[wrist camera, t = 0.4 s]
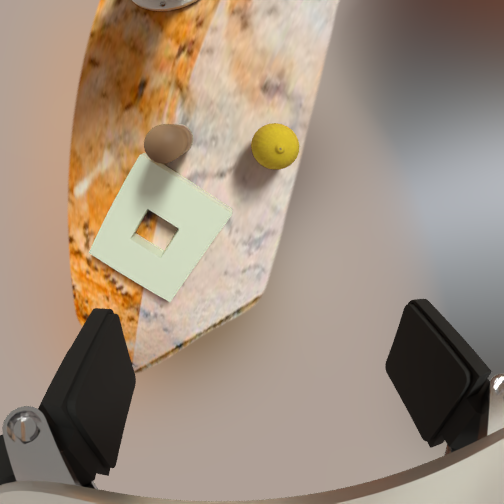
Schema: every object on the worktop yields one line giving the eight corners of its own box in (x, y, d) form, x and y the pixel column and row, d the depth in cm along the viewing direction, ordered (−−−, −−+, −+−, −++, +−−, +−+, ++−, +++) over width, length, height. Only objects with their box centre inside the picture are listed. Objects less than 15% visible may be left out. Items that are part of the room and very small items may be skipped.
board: (95, 246, 41) (88, 252, 39) (145, 152, 37) (140, 154, 35) (172, 293, 46) (170, 302, 43) (231, 208, 41) (232, 214, 39)
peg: (159, 143, 37) (136, 150, 27) (176, 118, 36) (158, 116, 26) (184, 159, 38) (168, 171, 28) (201, 134, 37) (191, 137, 27)
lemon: (265, 115, 36) (275, 112, 29) (299, 140, 38) (316, 144, 31) (240, 149, 38) (243, 154, 31) (274, 173, 40) (285, 184, 32)
